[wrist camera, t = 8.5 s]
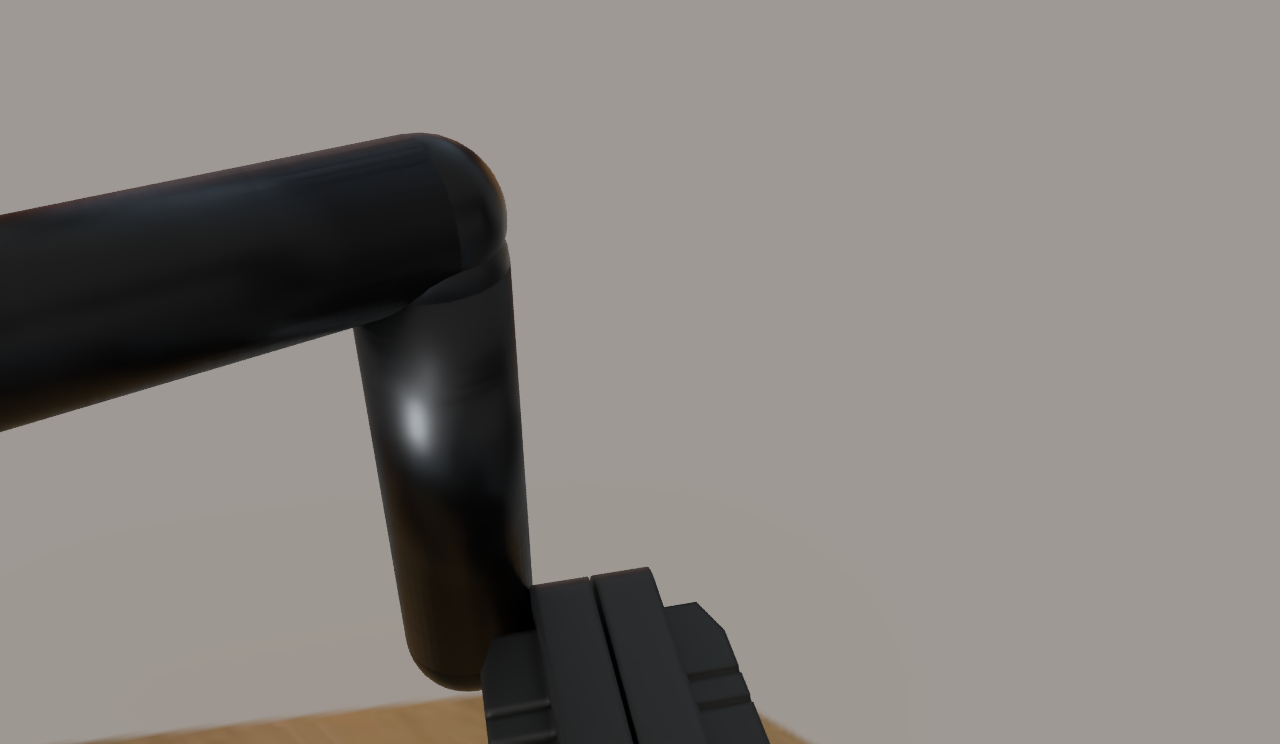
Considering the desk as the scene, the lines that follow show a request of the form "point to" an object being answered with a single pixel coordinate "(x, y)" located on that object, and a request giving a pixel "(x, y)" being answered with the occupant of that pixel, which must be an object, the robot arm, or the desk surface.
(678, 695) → the robot arm
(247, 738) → the desk surface
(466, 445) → the spout
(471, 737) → the desk surface
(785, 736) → the desk surface
